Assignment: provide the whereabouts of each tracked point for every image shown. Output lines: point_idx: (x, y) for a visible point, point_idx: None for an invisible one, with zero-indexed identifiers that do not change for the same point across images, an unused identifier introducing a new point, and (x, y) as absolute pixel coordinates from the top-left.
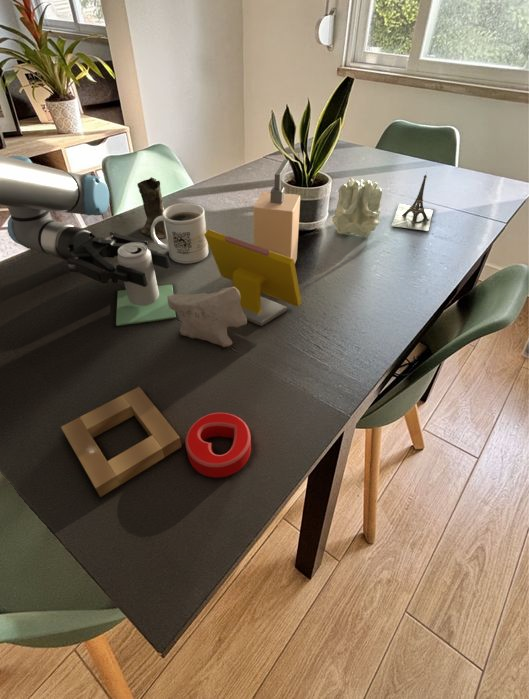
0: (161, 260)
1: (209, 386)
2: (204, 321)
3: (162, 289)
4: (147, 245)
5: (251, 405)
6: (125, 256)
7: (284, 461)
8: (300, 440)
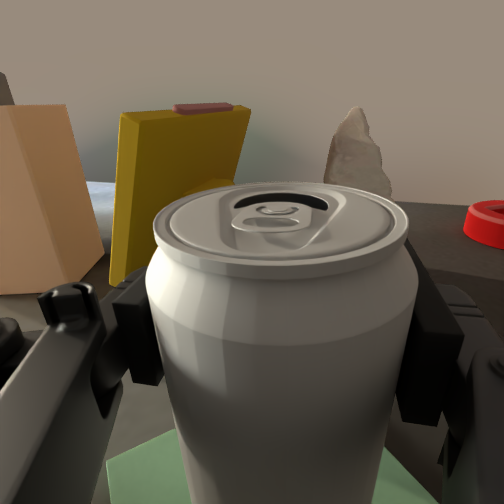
0: None
1: (440, 264)
2: None
3: (150, 486)
4: (23, 334)
5: (421, 233)
6: (394, 205)
7: (456, 210)
8: (421, 208)
